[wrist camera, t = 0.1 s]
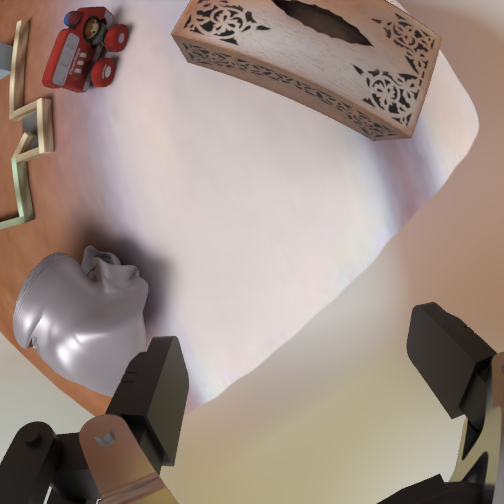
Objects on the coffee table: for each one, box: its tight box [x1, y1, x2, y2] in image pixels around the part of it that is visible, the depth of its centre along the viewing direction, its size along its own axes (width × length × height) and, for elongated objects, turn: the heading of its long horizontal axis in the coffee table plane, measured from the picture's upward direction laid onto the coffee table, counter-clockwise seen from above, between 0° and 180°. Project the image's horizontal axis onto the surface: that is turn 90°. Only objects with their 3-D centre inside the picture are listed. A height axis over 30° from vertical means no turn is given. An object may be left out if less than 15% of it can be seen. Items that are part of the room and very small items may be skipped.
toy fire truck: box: [42, 7, 129, 92], centre depth 25 cm, size 7×12×10 cm, turn 164°
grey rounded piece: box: [13, 246, 148, 396], centre depth 34 cm, size 20×18×15 cm
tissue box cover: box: [171, 0, 442, 141], centre depth 27 cm, size 26×14×10 cm, turn 68°
